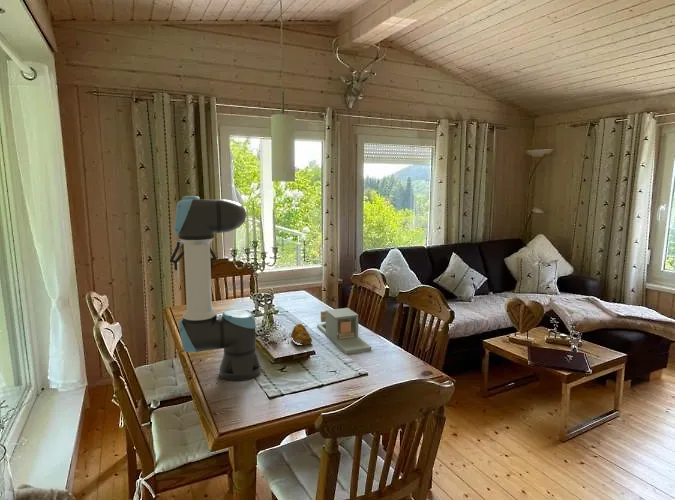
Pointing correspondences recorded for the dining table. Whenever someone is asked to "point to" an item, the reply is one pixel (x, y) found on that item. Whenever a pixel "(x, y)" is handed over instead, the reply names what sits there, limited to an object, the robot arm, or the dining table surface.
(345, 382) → the dining table surface
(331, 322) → the tunnel deck
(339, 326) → the block
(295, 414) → the dining table surface
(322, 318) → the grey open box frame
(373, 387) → the dining table surface
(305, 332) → the rock
